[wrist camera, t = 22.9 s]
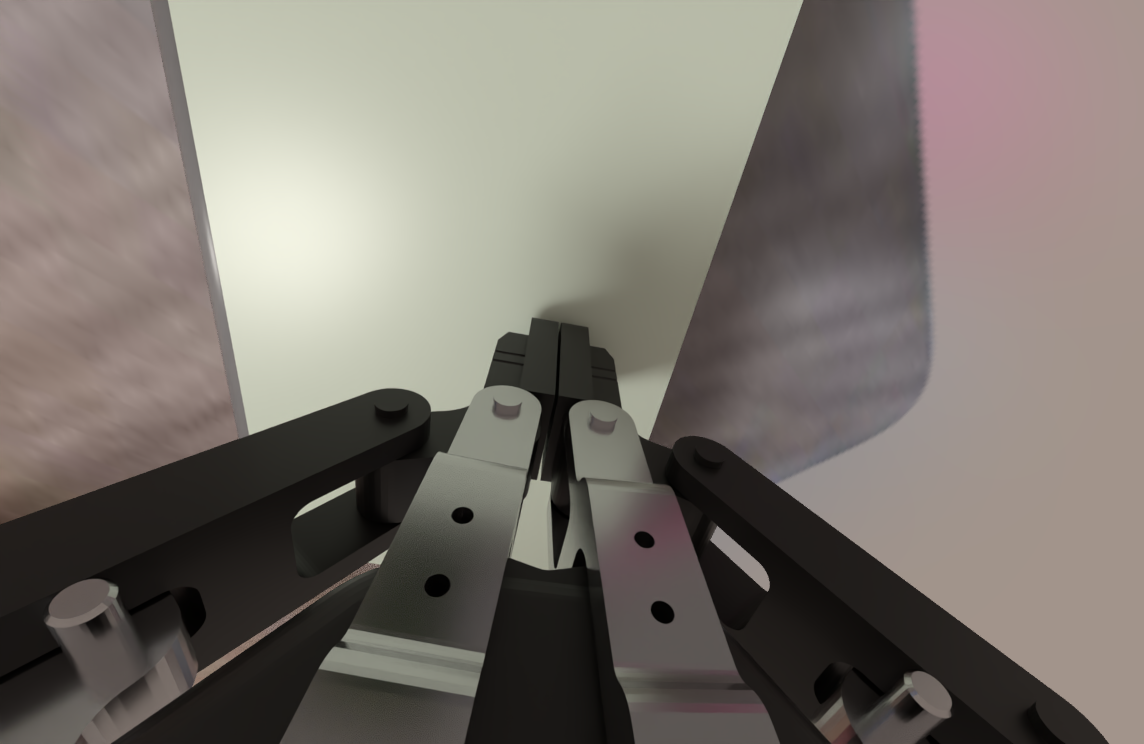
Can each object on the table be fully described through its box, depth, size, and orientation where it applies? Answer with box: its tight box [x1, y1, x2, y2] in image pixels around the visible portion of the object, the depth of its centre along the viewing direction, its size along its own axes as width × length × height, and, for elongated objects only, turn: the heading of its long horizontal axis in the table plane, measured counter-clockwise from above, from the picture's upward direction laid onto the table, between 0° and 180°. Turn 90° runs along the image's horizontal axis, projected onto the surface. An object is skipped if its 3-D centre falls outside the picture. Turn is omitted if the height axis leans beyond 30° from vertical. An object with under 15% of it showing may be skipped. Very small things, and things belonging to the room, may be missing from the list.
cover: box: [168, 0, 803, 570], centre depth 13 cm, size 21×12×1 cm, turn 169°
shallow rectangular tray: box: [150, 0, 249, 439], centre depth 16 cm, size 20×14×5 cm
